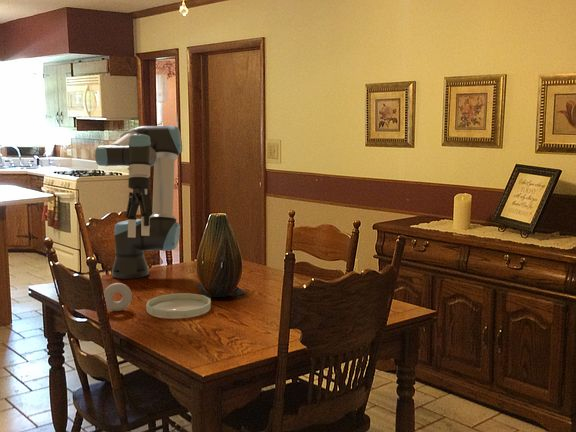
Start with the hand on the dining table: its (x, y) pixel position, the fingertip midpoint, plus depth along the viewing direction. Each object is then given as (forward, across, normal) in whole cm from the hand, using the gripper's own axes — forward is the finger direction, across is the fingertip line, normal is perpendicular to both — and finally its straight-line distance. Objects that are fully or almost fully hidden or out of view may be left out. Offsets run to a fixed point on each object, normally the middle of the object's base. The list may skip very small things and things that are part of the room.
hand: (138, 236), depth 241 cm
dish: (+26, +10, +12) cm, 30 cm away
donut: (+26, 0, -7) cm, 27 cm away
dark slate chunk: (+20, -4, +35) cm, 40 cm away
